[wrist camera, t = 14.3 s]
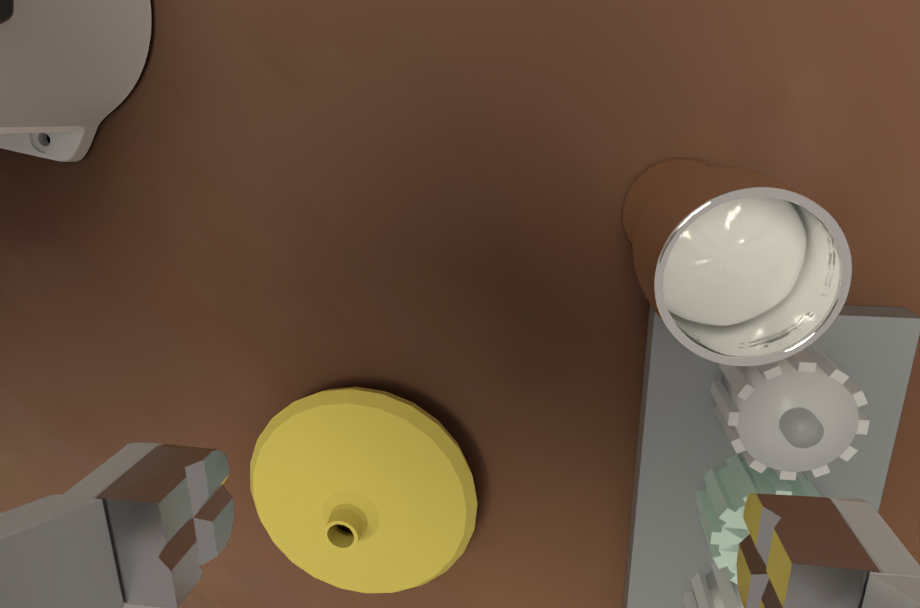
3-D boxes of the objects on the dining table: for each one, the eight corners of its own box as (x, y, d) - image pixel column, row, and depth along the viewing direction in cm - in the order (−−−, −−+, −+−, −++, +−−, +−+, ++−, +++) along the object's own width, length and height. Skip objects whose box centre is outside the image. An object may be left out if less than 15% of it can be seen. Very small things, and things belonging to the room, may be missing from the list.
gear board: (829, 646, 43) (891, 771, 35) (620, 623, 45) (634, 736, 37) (903, 307, 36) (1004, 366, 28) (650, 297, 38) (675, 350, 30)
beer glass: (708, 286, 37) (799, 398, 23) (596, 248, 37) (618, 335, 23) (762, 172, 35) (900, 219, 21) (642, 133, 35) (697, 152, 21)
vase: (227, 463, 46) (172, 523, 40) (360, 324, 41) (322, 366, 35) (383, 598, 48) (355, 677, 41) (530, 480, 43) (524, 550, 36)
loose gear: (702, 447, 38) (718, 485, 34) (822, 456, 37) (852, 496, 33) (690, 541, 40) (704, 587, 36) (803, 552, 39) (829, 600, 35)
